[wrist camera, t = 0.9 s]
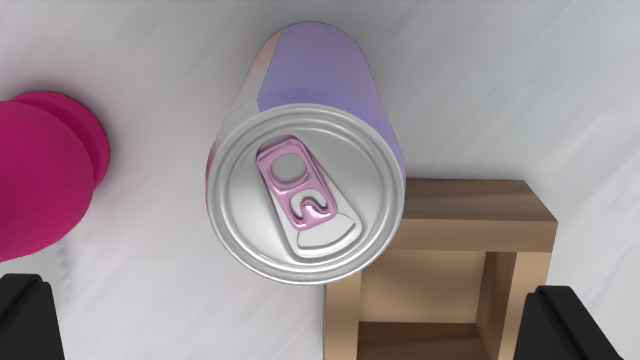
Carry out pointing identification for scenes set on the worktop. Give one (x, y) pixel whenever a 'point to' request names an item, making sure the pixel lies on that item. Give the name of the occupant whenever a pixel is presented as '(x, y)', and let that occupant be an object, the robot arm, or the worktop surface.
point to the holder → (445, 276)
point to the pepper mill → (46, 169)
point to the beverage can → (306, 162)
